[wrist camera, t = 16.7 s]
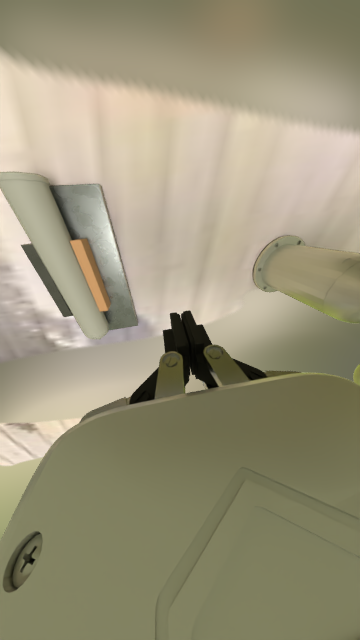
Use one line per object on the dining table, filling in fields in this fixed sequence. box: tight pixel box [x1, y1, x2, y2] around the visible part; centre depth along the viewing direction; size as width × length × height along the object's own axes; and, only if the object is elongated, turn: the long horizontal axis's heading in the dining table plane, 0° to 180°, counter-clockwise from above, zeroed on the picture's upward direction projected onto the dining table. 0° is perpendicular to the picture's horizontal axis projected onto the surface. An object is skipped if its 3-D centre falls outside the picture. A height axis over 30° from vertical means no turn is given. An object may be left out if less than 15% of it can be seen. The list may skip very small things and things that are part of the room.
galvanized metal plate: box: [21, 184, 138, 330], centre depth 26 cm, size 12×25×4 cm, turn 4°
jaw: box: [70, 238, 111, 312], centre depth 26 cm, size 2×12×3 cm, turn 4°
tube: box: [0, 172, 109, 339], centre depth 25 cm, size 5×5×25 cm
